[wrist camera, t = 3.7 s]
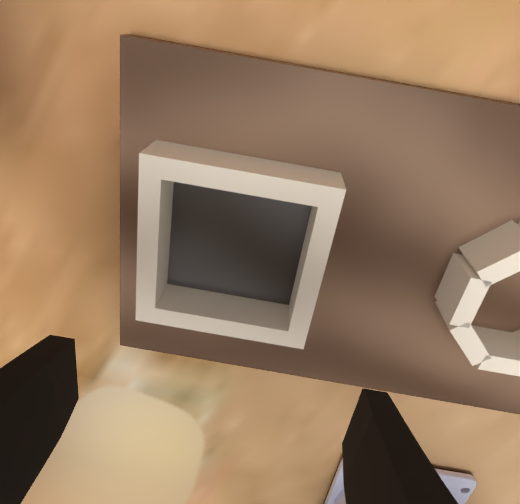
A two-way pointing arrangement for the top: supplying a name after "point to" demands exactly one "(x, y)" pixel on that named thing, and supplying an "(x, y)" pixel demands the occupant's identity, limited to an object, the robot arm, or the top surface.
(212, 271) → the bore board
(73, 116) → the top surface
